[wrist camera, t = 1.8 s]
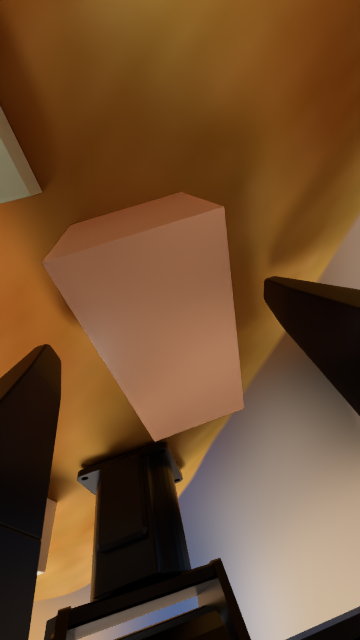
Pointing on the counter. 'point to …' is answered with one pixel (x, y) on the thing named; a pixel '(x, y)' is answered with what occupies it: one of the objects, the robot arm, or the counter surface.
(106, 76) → the counter surface
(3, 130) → the baseplate
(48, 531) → the cream brick
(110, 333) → the terracotta brick
